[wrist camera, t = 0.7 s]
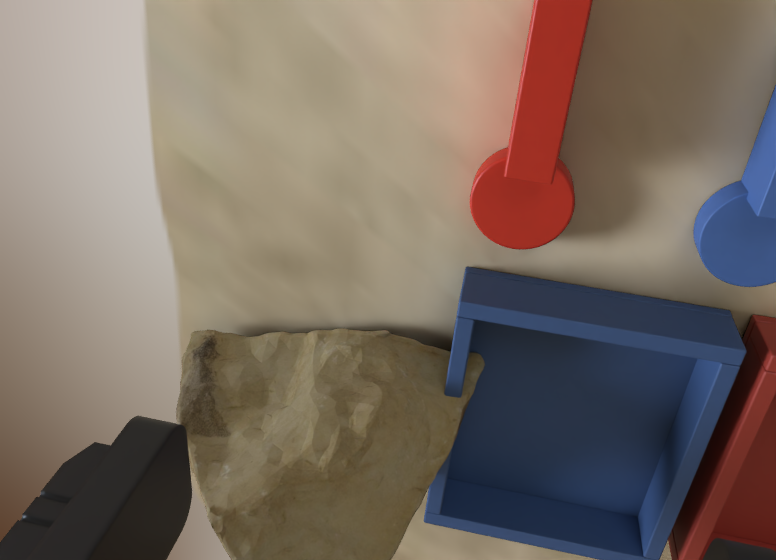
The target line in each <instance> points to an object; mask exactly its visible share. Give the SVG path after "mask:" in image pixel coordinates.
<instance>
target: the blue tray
mask: <svg viewBox="0 0 776 560" xmlns="http://www.w3.org/2000/svg"><path fill="white" fill-rule="evenodd" d="M469 352H475V353H478V354H480V355H481V356H482V358H483V360H484V362H485V366H484V369H483V371H482V372H481V374H480V376H479V378H478V380H477V383H476V386H475V390H474V393H473V395H472V396H471V398H470V401H469V404H468V406H467V408H466V411H465V414H464V417H463V420H462V423H461V425H460V428H459V431H458V434H457V437H456V440H455V442H454V444H453V446H452V449H451V451H450V453H449V455H448V457H447V459H446V460H445V462H444V463H443V465H442V466H441V468H440V469H439V471H438V472H437V475H436V477H435V479H434V480H433V482H432V483H431V485H430V486H429V491H428V498H427V504H426V510H425V516H424V522H425V523H430V524H434V525H439V526H444V527H448V528H453V529H458V530H463V531H467V532H472V533H477V534H481V535H486V536H491V537H496V538H500V539H505V540H510V541H515V542H519V543H524V544H529V545H533V546H538V547H543V548H548V549H552V550H557V551H562V552H566V553H571V554H576V555H581V556H585V557H590V558H595V559H599V560H659V559H660V557H661V555H662V552H663V550H664V547H665V545H666V543H667V540H668V538H669V536H670V533H671V531H672V528H673V526H674V524H675V521H676V519H677V517H678V514H679V512H680V509H681V507H682V505H683V502H684V500H685V497H686V495H687V493H688V490H689V488H690V486H691V483H692V481H693V478H694V476H695V474H696V471H697V469H698V466H699V464H700V462H701V459H702V457H703V455H704V452H705V450H706V447H707V445H708V443H709V440H710V438H711V436H712V433H713V431H714V428H715V426H716V424H717V421H718V419H719V416H720V414H721V412H722V409H723V407H724V405H725V402H726V400H727V397H728V395H729V393H730V390H731V388H732V386H733V383H734V381H735V378H736V376H737V374H738V371H739V369H740V365H741V364H742V362H743V359H744V357H745V355H746V348H745V346H744V344H743V341H742V339H741V337H740V334H739V332H738V330H737V327H736V325H735V322H734V320H733V318H732V315H731V312H730V311H729V310H724V309H718V308H712V307H706V306H700V305H694V304H688V303H682V302H676V301H670V300H664V299H658V298H652V297H646V296H640V295H634V294H628V293H622V292H616V291H610V290H604V289H598V288H592V287H586V286H580V285H574V284H568V283H562V282H556V281H550V280H544V279H538V278H532V277H526V276H520V275H514V274H508V273H502V272H496V271H490V270H484V269H478V268H472V267H466V269H465V274H464V279H463V284H462V289H461V294H460V299H459V304H458V311H457V317H456V323H455V329H454V335H453V342H452V348H451V354H450V360H449V367H448V373H447V379H446V385H445V392H444V394H445V395H446V396H450V397H457V398H461V396H462V391H463V385H464V380H465V374H466V368H467V363H468V357H469Z"/></svg>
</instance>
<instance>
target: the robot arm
mask: <svg viewBox="0 0 776 560" xmlns="http://www.w3.org/2000/svg"><path fill="white" fill-rule="evenodd" d="M191 498H192V486H191V475H190V463H189V452H188V440H187V432H186V428H185V427H184V426H183V425H180V424H175V423H171V422H166V421H160V420H156V419H151V418H146V417H141V416H136V417H134V418H132V419H131V420H130V421H129V422H128V423H127V425H126V426H125V427H124V429H123V430H122V431H121V433H120V434H119V435H118V437H117V438H116V439H115V441H114V442H113V443H112V445H111V446H110V445H105V444H100V443H96V442H95V443H93V444H92V445H90V446H89V447H87V448H86V449H84V450H83V451H81V452H80V453H78V454H77V455H75V456H74V457H72V458H71V459H69V460H68V461H66V462H65V463H63V465H62V466H61V467H60V468H59V470H58V471H57V472H56V473H55V475H54V476H53V477H52V479H51V480H50V481H49V482H48V483H47V485H46V486H45V487H44V488H43V490H42V491H41V495H40V497H36V498H35V500H34V501H33V502H32V503H31V505H30V506H29V507H28V508H27V510H26V511H25V512H24V513H23V517H22V519H21V520H20V521H19V520H18V521H17V522H16V523H15V525H14V526H13V527H12V528H11V530H10V531H9V532H8V533H7V535H6V536H5V537H4V538H3V540H2V541H1V542H0V560H166V559H167V557H168V555H169V553H170V552H171V550H172V548H173V546H174V544H175V543H176V541H177V539H178V537H179V535H180V533H181V532H182V530H183V527H184V525H185V522H186V520H187V516H188V513H189V509H190V504H191ZM702 560H776V552H775V551H774V550H773V549H770V548H765V547H760V546H755V545H750V544H746V543H741V542H736V541H731V540H726V539H721V538H715V539H714V540H713V541H712V542H711V543H710V545H709V547H708V549H707V551H706V553H705V555H704V557H703V559H702Z"/></svg>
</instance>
